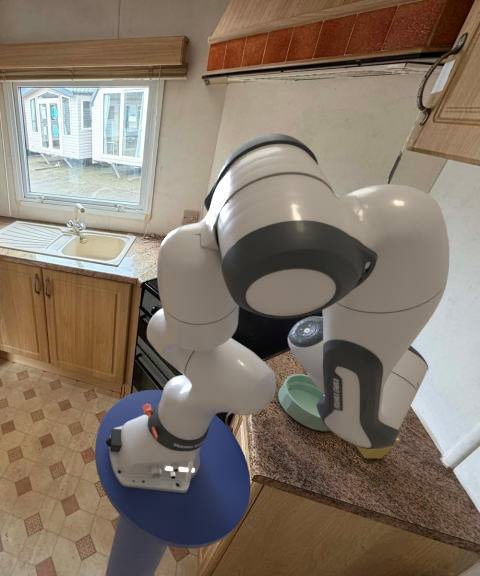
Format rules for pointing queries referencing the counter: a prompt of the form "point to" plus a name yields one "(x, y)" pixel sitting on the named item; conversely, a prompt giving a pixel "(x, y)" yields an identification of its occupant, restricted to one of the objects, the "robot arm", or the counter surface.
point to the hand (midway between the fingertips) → (358, 407)
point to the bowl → (302, 401)
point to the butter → (375, 451)
